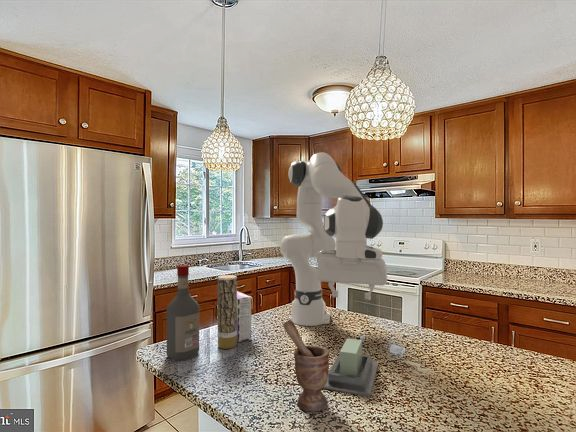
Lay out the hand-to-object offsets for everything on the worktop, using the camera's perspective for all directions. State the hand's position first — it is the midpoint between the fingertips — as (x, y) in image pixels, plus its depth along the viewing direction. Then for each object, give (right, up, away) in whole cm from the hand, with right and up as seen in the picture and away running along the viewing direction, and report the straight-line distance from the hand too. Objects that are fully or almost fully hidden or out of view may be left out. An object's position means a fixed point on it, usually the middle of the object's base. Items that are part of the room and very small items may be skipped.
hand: (351, 298), depth 99 cm
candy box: (-38, -23, +34) cm, 56 cm away
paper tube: (-40, -23, +23) cm, 52 cm away
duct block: (0, -22, 0) cm, 22 cm away
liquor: (-54, -23, +15) cm, 61 cm away
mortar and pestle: (-14, -23, -15) cm, 31 cm away
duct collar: (0, -22, 0) cm, 23 cm away
